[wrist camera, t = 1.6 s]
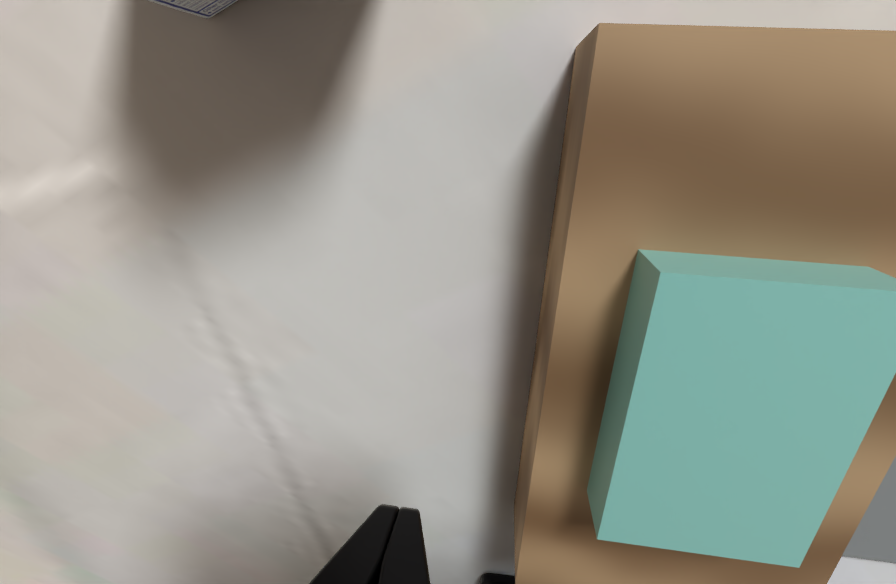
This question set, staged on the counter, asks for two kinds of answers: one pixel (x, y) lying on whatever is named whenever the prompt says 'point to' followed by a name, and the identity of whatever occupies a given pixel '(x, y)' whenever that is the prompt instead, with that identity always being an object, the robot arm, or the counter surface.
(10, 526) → the counter surface
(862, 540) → the mat
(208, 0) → the medicine box
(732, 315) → the teal rectangular block
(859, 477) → the deck
